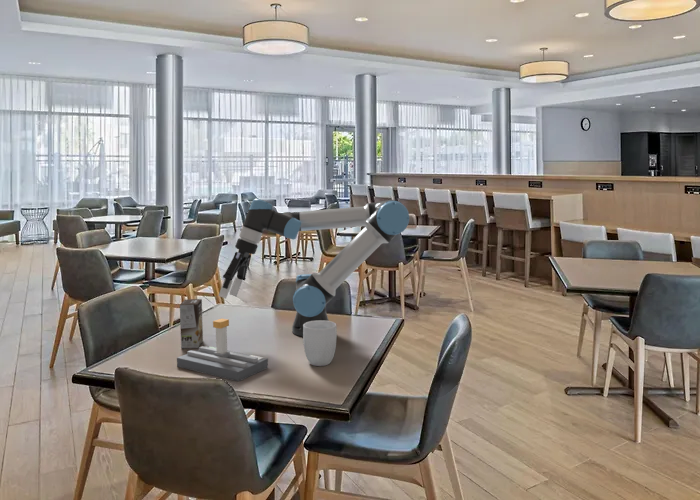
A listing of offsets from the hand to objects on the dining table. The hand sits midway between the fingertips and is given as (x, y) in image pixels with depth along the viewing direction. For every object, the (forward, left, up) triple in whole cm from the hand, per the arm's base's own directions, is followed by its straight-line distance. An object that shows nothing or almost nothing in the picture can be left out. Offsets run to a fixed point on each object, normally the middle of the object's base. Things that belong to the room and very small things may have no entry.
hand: (227, 296), depth 203 cm
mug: (-34, +17, -18) cm, 43 cm away
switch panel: (-3, +23, -18) cm, 30 cm away
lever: (-3, +23, -15) cm, 28 cm away
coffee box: (+14, -1, -18) cm, 23 cm away
